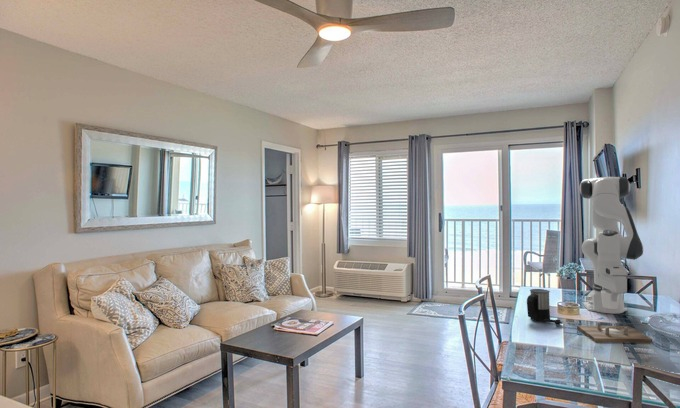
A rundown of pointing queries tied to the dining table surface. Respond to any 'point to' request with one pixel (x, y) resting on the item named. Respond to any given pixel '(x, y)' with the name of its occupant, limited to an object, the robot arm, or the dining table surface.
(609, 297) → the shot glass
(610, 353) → the dining table surface
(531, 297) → the milk frother
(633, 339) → the pin board
